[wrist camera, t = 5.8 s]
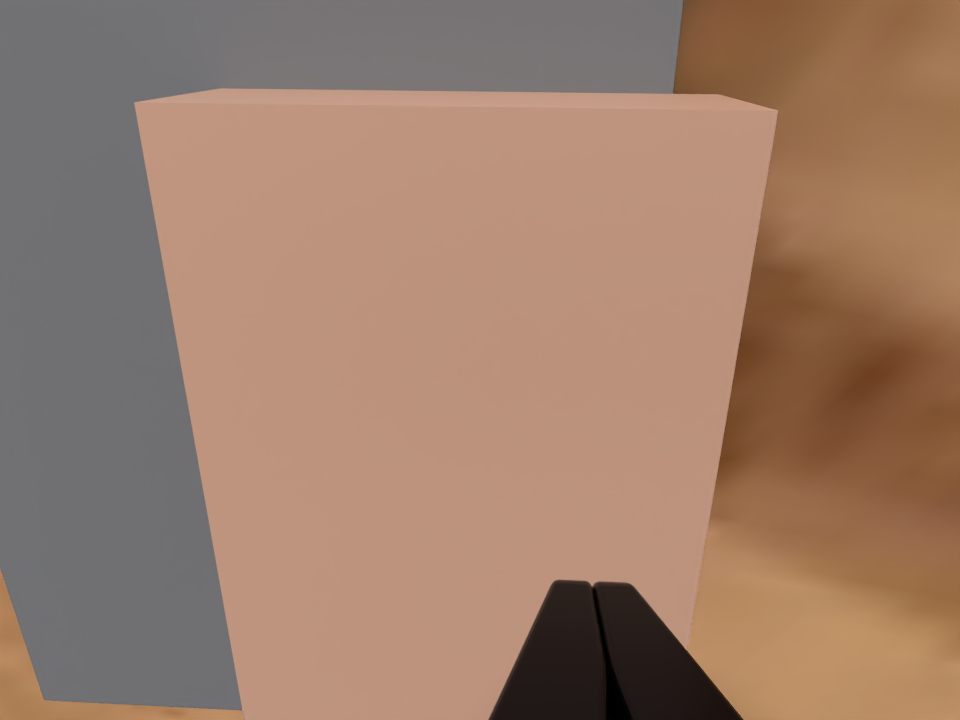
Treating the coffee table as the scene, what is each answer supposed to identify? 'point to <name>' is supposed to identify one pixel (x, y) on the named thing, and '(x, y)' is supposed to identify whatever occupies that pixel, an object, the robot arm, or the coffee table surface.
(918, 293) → the coffee table surface
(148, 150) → the block
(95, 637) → the mat
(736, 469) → the coffee table surface
